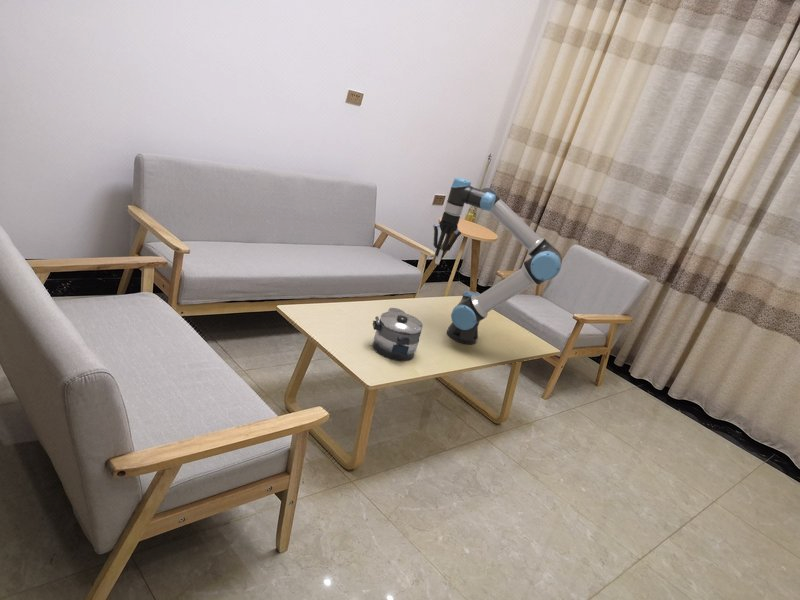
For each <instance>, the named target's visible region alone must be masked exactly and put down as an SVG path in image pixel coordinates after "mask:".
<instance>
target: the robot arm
mask: <svg viewBox="0 0 800 600" xmlns="http://www.w3.org/2000/svg"><path fill="white" fill-rule="evenodd" d="M471 184H472V182H471V181H470V180H468V179H466V178H463V177H455V178H454V179H453V182H452V185H451V186H450V190H449V193H448V198H447V201H446V204H445V206H444V211H443V213H442V217H441V220H440V222H439V223H438V224H434V225H433V226H432V227H433V244H432V245H433V247H434V248H436V249H435V253H434V256H435V259H434V263H435V265H438V266H439V265H440V262H441V259H442V258H444V256H445V254H446V252H449V251H451V249H452V247H453V246H454V244H455V242H456V241H457V239H458V238H459V236H461V234H462V232H461V231H460V230H459V229H458V228H459V227H458V224H459V221H460V218H461V215H462V212H463V208H464V206H465V204H466V205H469V206H473V207H474V208H479V209H481V210H482V211H488V212H489V213H490V214H491V215H492V217H494V218H495V220H497V222H499V223H500V224H501V225H502V226H503V227H504V228H505V230H507V231H508V232H509V233H510V234H511V235H512V236H513V237H514V238H515V239H516V240H517V241H518V242H519V243H520V244H521V245H522V246H523V247H524V248H525V249H526V250H527V254H528V255H529V256H530V258H529V259H527V260H525V261H524V262H522V267H521V268H519V269H518V270H517V271H514V272H513V273H512V274H510V275H509V276H506V277H505V278H504V279H502V280H501V281H499V282H497V283H496V284H495V285H492V286H491V287H490V288H488V289H487V290H485V291H483V292H482V293H477V292H474V291H471V290H470V291H469V290H465V291H464V292H463V294H462V295H461V296H462V297H461V300H460V301H459V302H458V304H457V305H456V306H454V307H453V309H452V310H451V311H452V312H451V315H450V318H451V321H452V322H451V323H450V325H449V326H448V327H447V330H446V335H447V336H448V337H450V338H451V339H452V340H454V341H456V342H459V343H462V344H466V345H474V344H476V343H477V342H478V339H479V338H478V336H479V335H478V334H479V324H480V322H482V320H484V319H486V318H487V317H488V313H489V312H492V310H495V308H497V307H499V306H500V305H502V304H503V303H505V302H507V301H509V300H511V299H512V298H514V297H515V296H517V295H519V294H520V293H521V292H524V291H525V290H526V289H528V288H529V287H531V286H533V285H534V286H539V285H541V284H543V283H544V282H546V281H550V280H552V279H554V278H556V277H557V276H558V275H559V273H560V272H561V267H562V263H563V257H562V255H561V252H560V251H559V250H558V249H557V248H556V247H554V246H553V245H552V244H551V243H550V242H549V241H548V240H546V239H545V237H540V236H539V235H538V234H537V233H536V232H535V231H534V230H533V229H532V228H531V227H530V226H529V225H528V224H527V223H526V222H525V221H524V220H523V219H522V218H521V217H520V216H519V215H518V214H516V213H515V212H514V211H513V210H512V208H510V206H508V205H507V203H505V201H503V200H502V199H501V198H500V197H499V196H498V195H497V193H496V191H495V190H494V189H493V188H491V187H484V188H481V189H480V188H477V187H474V186H471ZM439 230H440V236H439ZM452 234H453V236H452ZM451 236H452V237H451Z"/></svg>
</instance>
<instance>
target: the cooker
mask: <svg viewBox="0 0 800 600" xmlns="http://www.w3.org/2000/svg"><path fill="white" fill-rule="evenodd" d="M372 327H373V330H375V333H374V337H373V343H372V348H373V350H374V351H375V352H376V353H378V354H379V355H380V356H382V357H384V358H386V359H389V360H393V361H398V362H406V361H407V362H408V361H411V360H412V359H413V358H414V356H415V353H416V351H417V350H418V346H419V342H420V337H421V334H422V331H421V332H419V333H416V334H403V333H398V332H395V331H392V330H390V329H388V328H386V327H385V326H383V325H382V324H381V322H380V325H379V326H378V325H377V323H376V320H372Z"/></svg>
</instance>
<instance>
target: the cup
mask: <svg viewBox="0 0 800 600" xmlns="http://www.w3.org/2000/svg"><path fill="white" fill-rule="evenodd" d="M387 312H402V313H406V312H405V311H404V310H402V309H400V308H397V307H390V308H388V310H387Z"/></svg>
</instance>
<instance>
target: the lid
mask: <svg viewBox="0 0 800 600" xmlns="http://www.w3.org/2000/svg"><path fill="white" fill-rule="evenodd" d="M379 317H380V318H379ZM375 321H376V323H377V325H378V326H379V325H380V322H381V324H382V325H383V326H385V327H386V328H388V329H390V330H392V331H395V332H398V333H403V334H416V333H419V332H421V333H422V330H423V327H424V324H423V322H422V321H421V320H420V319H419V318H417V317H416V316H414V315H412V314H408V313H406V312H405V313H402V312H388V311H385V312H383V313H381V314H380V316H375Z"/></svg>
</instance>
